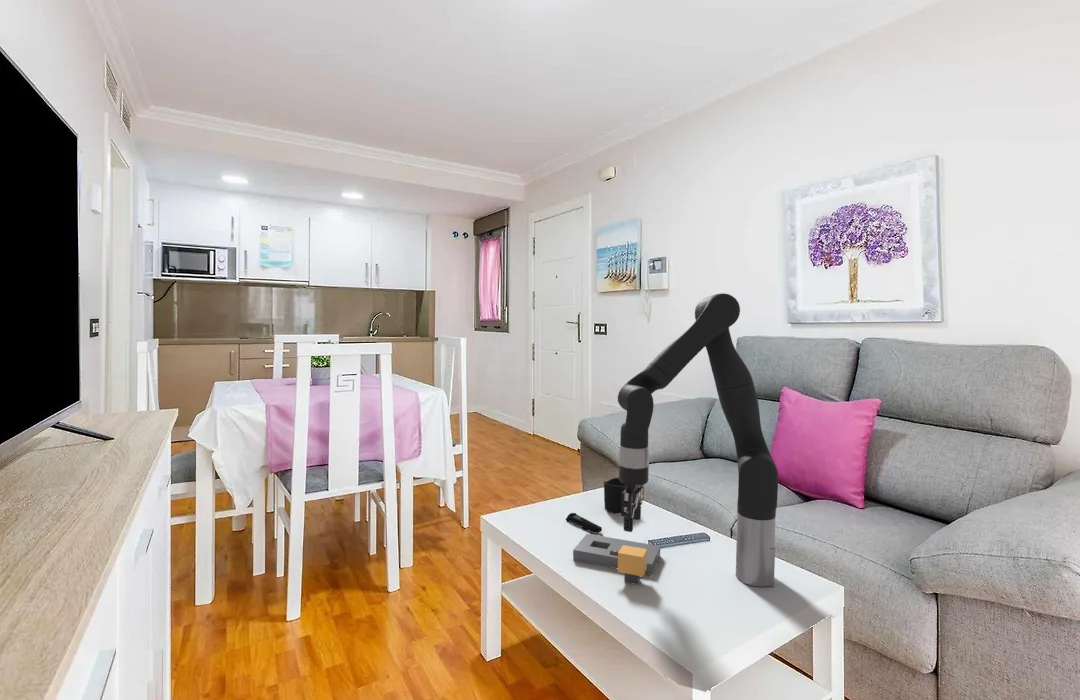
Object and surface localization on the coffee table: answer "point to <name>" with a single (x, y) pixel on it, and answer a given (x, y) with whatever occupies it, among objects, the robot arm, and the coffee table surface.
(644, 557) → the plug
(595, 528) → the electric trimmer
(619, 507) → the pen holder
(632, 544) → the socket board
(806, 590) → the coffee table surface
